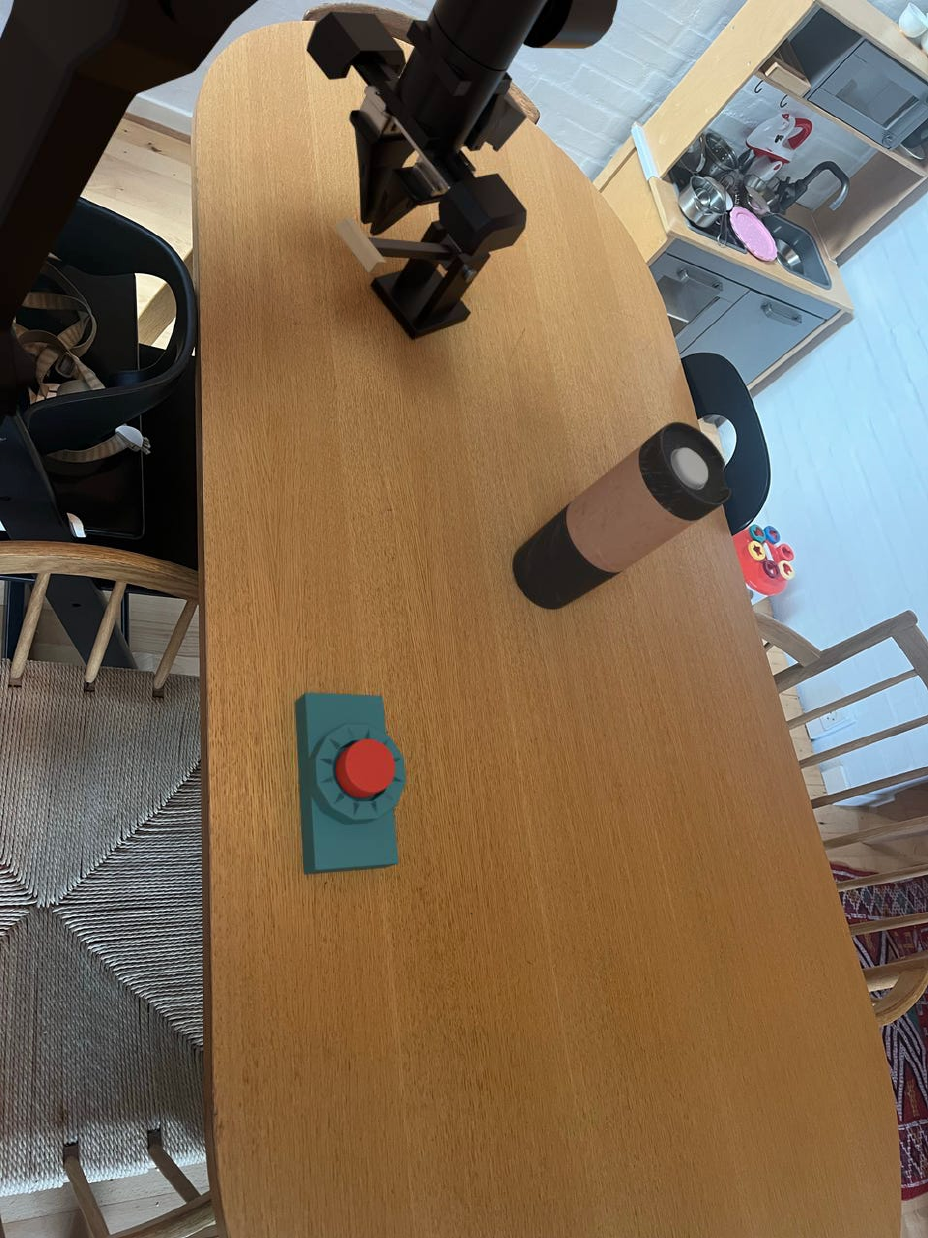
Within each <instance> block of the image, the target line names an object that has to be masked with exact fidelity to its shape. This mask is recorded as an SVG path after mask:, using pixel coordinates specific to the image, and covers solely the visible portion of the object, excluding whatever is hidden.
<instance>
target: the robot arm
mask: <svg viewBox="0 0 928 1238" xmlns="http://www.w3.org/2000/svg"><path fill="white" fill-rule="evenodd" d="M258 1H259V0H13V2H12V5H11V10H10V13H9V15H8V18H7V20H6V22H5V25H4V27H3V29H2V33H1V34H0V427H1V426H2V425H3V423H4V421H5V419H6V416H8V417H10V418H14V417H16V416H17V414H18V413H17V411H18V404H19V402H20V399H21V398H22V396H23V395H24V394H25V392H26V391H27V389H28V388H29V387H30V386H31V385H32V383H33V382H34V381H35V379H36V374H37V368H38V364H37V363H36V362H35V360H34V359H33V357H32V356H31V355H30V354H29V353H28V351H27V349H26V348H25V347H24V345H23V344H22V343H21V342H20V340H19V339H18V337H17V336H16V335H15V334H14V332H13V331H12V326H13V323H14V321H15V319H16V318H17V316H18V313H19V312H20V310H21V308H22V306H23V304H24V303H25V300H26V299H27V296H28V295H29V294H30V291H31V289H32V287H33V286H34V284H35V282H36V280H37V279H38V276H39V274H40V272H41V271H42V269H43V267H44V265H45V263H46V262H47V260H48V257H49V256H50V254H51V252H52V250H53V248H54V246H55V244H56V243H57V241H58V239H59V237H60V235H61V233H62V231H63V229H64V228H65V225H66V224H67V222H68V220H69V219H70V216H71V215H72V213H73V211H74V209H75V207H76V205H77V203H78V201H79V199H81V198H80V197H81V196H82V194H83V192H84V191H85V188H86V187H87V185H88V183H89V181H90V179H91V177H92V175H93V173H94V171H95V169H96V168H97V166H98V164H99V162H100V160H101V158H102V157H103V155H104V153H105V151H106V149H107V147H108V146H109V144H110V142H111V140H112V138H113V136H114V135H115V132H116V130H117V129H118V127H119V125H120V123H121V121H122V119H123V117H124V116H125V114H126V112H127V110H128V108H129V106H130V104H131V103H132V102H133V101H134V99H135V98H136V96H137V95H138V94H141V93H144V92H146V91H150V90H151V89H155V88H156V87H157V88H158V87H160V86H162V85H165V84H167V83H170V82H173V81H175V80H177V79H181V78H183V77H186V76H188V75H191V74H193V73H195V72H196V71H197V70H198V69H199V68H200V66H201V65H202V63H204V61H205V60H206V58H207V57H208V56H209V55H210V53H211V51H212V50H213V49H214V48H215V46H216V45H217V44H218V42H219V41H220V40H221V38H222V37H223V36H224V34H225V33H226V32H227V30H228V29H229V28H230V27H231V25H232V24H233V22H235V21H236V20H237V19H238V18H240V17H241V16H242V15H243V14H244V13H245V12H247V11H248V10H249V9H251V7H253V6H254V5H255V4H256V3H257V2H258ZM434 2H435V3H434V4H433V6H432V8H431V11H430V13H429V15H428V17H427V19H426V20H423V19H422V20H421V19H420V20H419V19H418V20H417V19H413V20H412V22H411V23H410V26H409V27H408V30H407V32H406V34H405V37H406V38H407V39H408V40H409V42H410V43H411V44H412V45H413V48H412V50H411V53H410V55H409V57H408V59H407V61H406V56H405V52H404V50H403V48H402V47H401V45H400V44H399V43H398V42H397V41H396V39H395V38H394V37H393V35H392V34H391V32H390V31H389V30H388V29H387V28H386V26H385V25H384V24H383V23H382V21H381V20H380V18H379V17H378V16H377V14H376V13H367V12H365V13H364V12H348V11H347V12H345V11H328V12H324V13H323V15H321V16H320V17H319V18H318V19H317V20H315V22H314V25H313V26H312V27H313V28H312V31H311V33H310V36H309V39H308V41H307V43H306V52H307V53H308V55H309V56H310V57H311V58H312V60H313V61H314V63H315V64H316V65H317V67H318V68H319V69H320V70H321V72H322V73H323V74H324V76H325V77H326V78H327V79H328V81H334V80H341V79H347V78H348V75H349V72H350V71H351V68H353V69H354V70H355V71H356V73H357V74H358V75H359V77H360V78H361V79H362V80H363V81H364V83H365V84H366V85H367V86H365V88H364V90H363V93H364V94H365V96H364V99H363V100H362V103H361V105H360V107H359V109H352V110H350V113H349V117H348V121H349V122H350V124H351V125H352V128H353V129H354V136H355V137H354V138H355V146H356V147H355V148H356V155H357V166H358V179H359V180H358V185H359V220H360V222H361V224H363V225H369V224H370V229H369V234H370V235H371V237H376V236H380V235H382V234H384V233H385V232H386V231H387V230H389V229H390V228H391V227H393V226H394V225H395V224H396V223H398V222H399V221H400V220H402V219H403V218H405V216H407V215H408V214H409V213H410V212H412V211H413V210H414V209H416V208H417V207H422V206H427V205H432V204H437V208H438V211H437V212H438V220H439V223H440V224H441V225H442V227H443V228H444V229H445V231H446V232H447V233H448V234H449V236H450V237H451V238H452V240H453V241H454V242H455V244H456V245H457V246H458V247H459V249H460V250H461V251H462V252H463V253H465V254H467V255H469V256H471V257H474V256H477V255H481V254H484V253H488V252H489V253H491V252H494V251H498V250H502V249H504V248H509V247H512V246H514V245H515V244H516V242H517V241H518V240H519V238H520V237H521V235H522V234H523V232H525V230H526V225H527V216H528V210H527V209H526V208H525V206H524V205H523V203H522V202H521V201H520V200H519V198H518V197H517V196H516V194H515V193H514V191H512V189H511V188H510V187H509V185H508V184H507V183H506V182H505V180H504V179H503V177H502V176H501V175H500V174H499V172H497V173H492V174H491V173H490V174H486V175H479V176H476V175H475V174H476V172H477V168H476V167H475V166H474V165H473V163H472V161H471V160H470V159H469V158H468V156H467V155H466V154H465V153H464V152H463V150H462V148H463V147H466V149H468V151H469V152H478V151H481V149H482V148H483V146H484V144H485V143H487V144H488V145H490V146H492V149H493V151H494V152H496V153H498V152H499V151H500V149H502V147H503V146H504V145H505V144H506V143H507V142H508V140H509V139H510V138H511V137H512V135H514V134H515V132H516V131H517V130H518V129H519V127H520V126H521V125H522V124H523V123H524V121H525V120H526V119H527V115H526V113H525V112H524V111H523V109H522V108H521V106H520V105H519V104H518V103H517V102H516V100H515V99H514V97H513V96H512V94H511V93H510V92H509V90H510V88H511V83H512V82H513V80H514V79H513V78H512V77H511V75H510V74H509V73H508V69H509V68H510V66H511V64H512V62H513V61H514V59H515V57H516V56H517V54H518V52H519V50H520V49H521V47H522V45H524V46H525V47H529V48H531V49H552V50H553V49H554V50H556V49H558V50H559V49H562V50H563V49H564V50H585V49H587V48H591V47H592V46H594V45H595V44H597V43H598V42H600V41H601V40H602V39H603V38H604V36H605V35H606V34H608V32H609V30H610V28H611V27H612V25H613V23H614V17H615V15H616V12H617V7H618V2H619V0H435V1H434ZM415 152H416V153H417V154H418V156H417V158H416V162H414V164H413V165H410V166H404V165H405V163H406V162H407V160H408V159H409V158H410V157H411V155H412V154H414V153H415Z"/></svg>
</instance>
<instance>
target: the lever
mask: <svg viewBox="0 0 928 1238" xmlns="http://www.w3.org/2000/svg"><path fill="white" fill-rule="evenodd" d="M334 231H335V232H336V234H337V235H338V236H339V237H340V239H341V240H342V241H343V242H344V244H345V245H346V246H347V248H348V249H349V250H350V251H351V253H352V254H353V255H354V257H355V258H356V259H357V261H359V263H360V265H361V266H362V267H363V268H364V270H365V271H366V272H367V274H368V275H372V274H373V275H378V274H379V272H380V271H381V270H382V269H383V267H384V266H385V264H387V260H386V259H385V258H393V259H394V258H395V259H408V260H409V259H426V260H437V261H438V262H439V263H440V264H439V266H441V267H442V269H443V270H444V271H445V272H447V271H448V269H449V268H450V266H451V265H452V263H453V262H454V260H455V259H456V257H457V256H458V255H461V254H465V253H463V252H462V251H461V250H460V249H459V247H458V246H457V245H456V244H455V242H454V241H453V240H452V238H451V237H450V236H449V234H447V235H446V236H445V237H444V238H443V240H442V241H441V242H440V243H439V244H437V243H426V242H420V241H415V240H405V239H393V238H382V237H375V236H367V235H366V233H365V232H364V231H363V230H362V228H361V227H360V226H359V224H358V223H357V222H356V221H355V219H354V218H352V217H345V216H344V217H342V219H341V221H340V222H339V223H338V225H337V226H336V227H335V229H334Z"/></svg>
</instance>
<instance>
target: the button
mask: <svg viewBox="0 0 928 1238" xmlns="http://www.w3.org/2000/svg"><path fill="white" fill-rule="evenodd" d="M394 774H395V762H394V758H393V756H392V754H391V752H390V751H389V749H388V748H387V747H386V746H385V745H384V744H382V743H381V742H379V741H377V740H373V739H362V740H359V741H357V742H356V743H354V744H353V745H351V746H350V747H348V748H347V749H345V750H344V751H343V752H342V753H341V754H340V756H339V758H338V760H337V763H336V776H337V780H338V782H339V784H340V786H341V787H342V788H343V789H344V791H346V792H347V793H348V794H350V795H352V796H354V797H358V798H367V797H370V796H372V795H374V794H376V793H378V792H380V791H382V790H384V789H385V788H386V787H388V786H389V784H390V783H391V782H392V780H393V777H394Z"/></svg>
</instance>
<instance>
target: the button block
mask: <svg viewBox="0 0 928 1238" xmlns="http://www.w3.org/2000/svg"><path fill="white" fill-rule="evenodd" d="M294 708H295V709H294V711H295V728H296V730H295V731H296V750H297V768H298V770H297V771H298V790H299V806H300V807H299V808H300V825H301V827H300V829H301V844H302V862H303V863H302V864H303V867H302V868H303V875H305V876H307V875H316V874H317V875H318V874H329V873H342V872H352V871H353V872H354V871H366V870H378V869H386V868H389V867H392V866H395V865H399V863H400V861H399V851H398V841H397V829H396V821H395V820H396V819H395V810H394V808H395V807H396V806H397V805H398V803H399V801H400V798H401V796H402V793H403V791H404V789H405V786H406V783H407V778H406V777H407V775H406V768H405V758H404V756H403V754H402V752H401V751H400V750H399V748H398V746H397V745H396V743H395V742H394V740H393V739H392V736H390V735H389V734H387V729H386V728H387V727H386V717H385V707H384V697H383V695H375V694H373V695H372V694H349V693H329V692H325V693H324V692H307V691H306V692H304V693H303V694H302V695H301V696H300V697H299V698H297V700H295V701H294ZM362 739H373V740H377V741H379V742H381V743H382V744H384V745H385V746H386V747H387V748H388V749H389V751H390V752H391V754H392V756H393V758H394V762H395V774H394V777H393V780H392V782H391V783H390V784H389V786H388V787H386V788H385V789H384V790H382V791H380V792H378V793H376V794H374V795H372V796H370V797H367V798H358V797H354V796H352V795H350V794H348V793H347V792H346V791H344V789H343V788H342V787H341V786H340V784H339V782H338V780H337V776H336V763H337V760H338V758H339V756H340V754H341V753H342V752H343V751H344V750H345V749H347V748H348V747H350V746H351V745H353V744H354V743H356V742H357V741H359V740H362Z"/></svg>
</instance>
